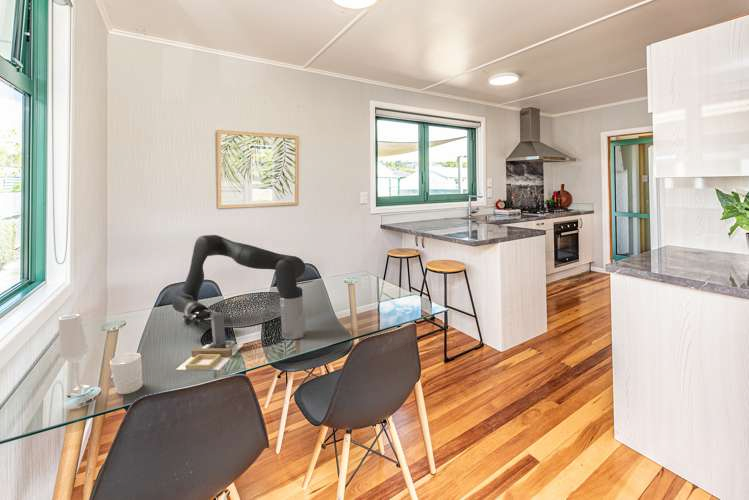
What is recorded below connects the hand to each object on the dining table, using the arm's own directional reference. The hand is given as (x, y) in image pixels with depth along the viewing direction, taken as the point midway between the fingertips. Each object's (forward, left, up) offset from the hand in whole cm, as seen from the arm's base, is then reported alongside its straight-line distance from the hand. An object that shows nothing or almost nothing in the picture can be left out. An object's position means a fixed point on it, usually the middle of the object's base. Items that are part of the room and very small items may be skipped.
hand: (208, 320), depth 143 cm
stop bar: (-7, +8, -9) cm, 14 cm away
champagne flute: (+23, +36, -10) cm, 43 cm away
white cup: (+9, +34, -10) cm, 36 cm away
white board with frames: (-7, +13, -10) cm, 18 cm away
